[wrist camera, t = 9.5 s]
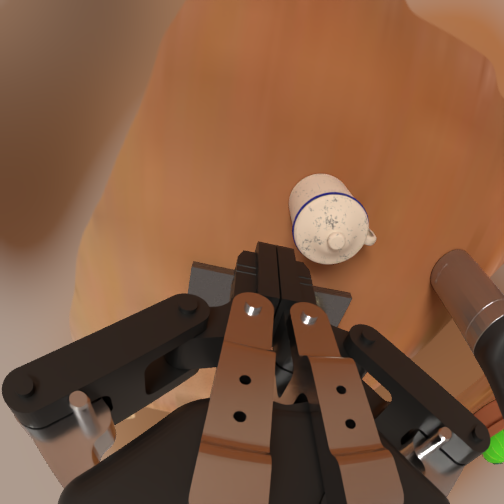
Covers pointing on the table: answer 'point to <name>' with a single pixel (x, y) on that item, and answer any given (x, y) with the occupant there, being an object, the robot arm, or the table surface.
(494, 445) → the potted cactus
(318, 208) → the teacup with lid
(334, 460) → the robot arm
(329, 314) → the plate
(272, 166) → the table surface
